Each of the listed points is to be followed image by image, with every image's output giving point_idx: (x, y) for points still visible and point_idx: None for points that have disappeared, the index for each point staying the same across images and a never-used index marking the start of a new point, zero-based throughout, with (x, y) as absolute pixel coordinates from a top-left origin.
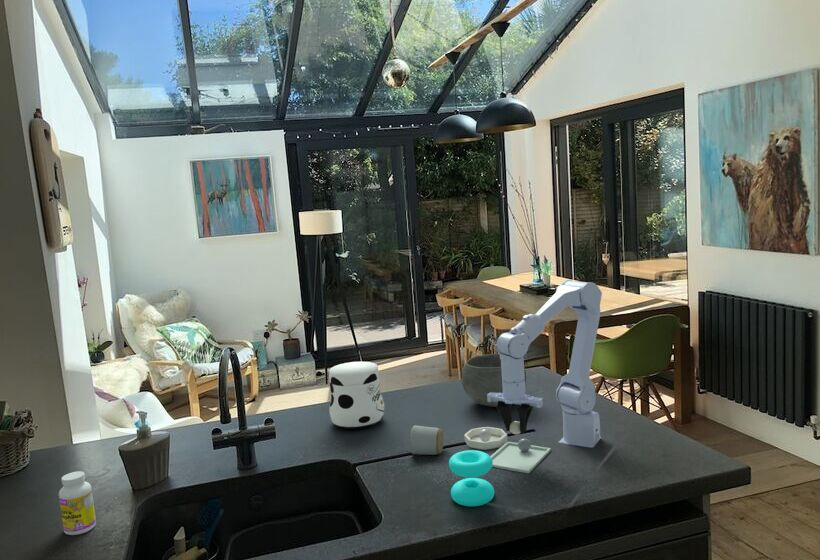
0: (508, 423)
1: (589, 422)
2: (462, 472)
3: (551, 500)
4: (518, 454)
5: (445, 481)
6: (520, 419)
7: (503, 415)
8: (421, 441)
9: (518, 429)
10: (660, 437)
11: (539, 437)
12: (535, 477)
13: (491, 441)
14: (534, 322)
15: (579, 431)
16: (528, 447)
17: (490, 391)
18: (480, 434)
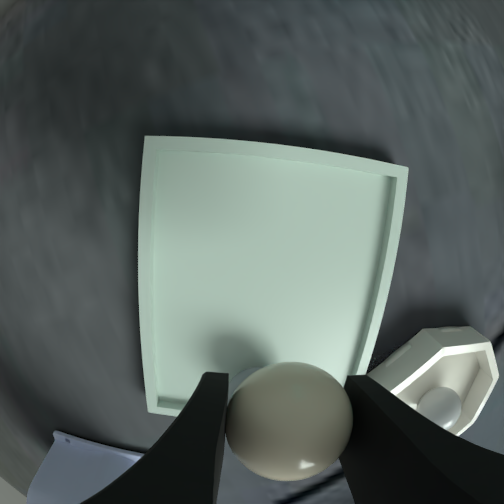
0: (369, 428)
1: (38, 498)
2: None
3: (45, 7)
4: (272, 339)
5: (458, 29)
6: (196, 472)
7: (461, 459)
8: None
9: (247, 389)
10: (4, 469)
11: (245, 481)
12: (119, 135)
13: (416, 372)
14: None
15: (77, 482)
16: (229, 383)
17: None
18: (457, 398)
